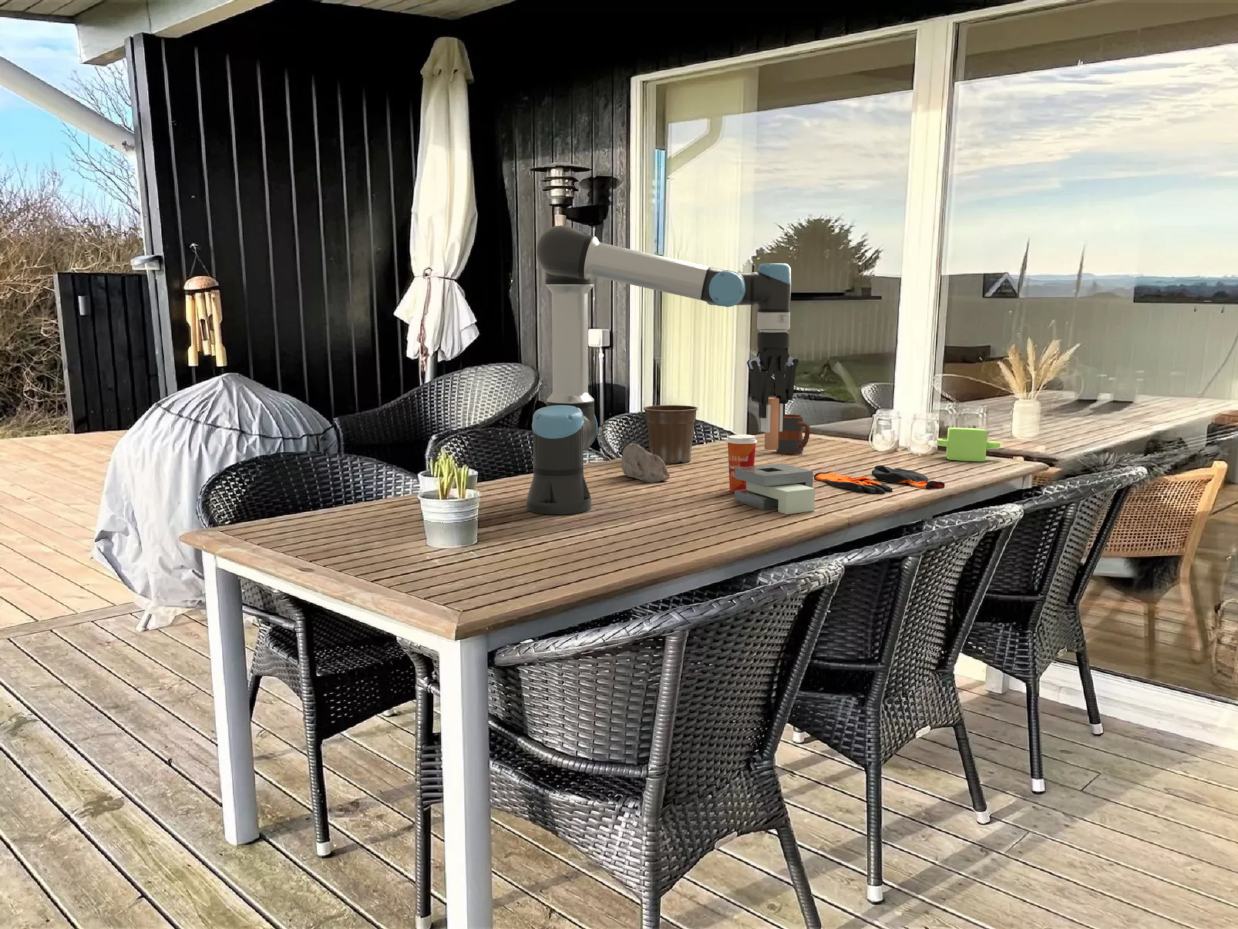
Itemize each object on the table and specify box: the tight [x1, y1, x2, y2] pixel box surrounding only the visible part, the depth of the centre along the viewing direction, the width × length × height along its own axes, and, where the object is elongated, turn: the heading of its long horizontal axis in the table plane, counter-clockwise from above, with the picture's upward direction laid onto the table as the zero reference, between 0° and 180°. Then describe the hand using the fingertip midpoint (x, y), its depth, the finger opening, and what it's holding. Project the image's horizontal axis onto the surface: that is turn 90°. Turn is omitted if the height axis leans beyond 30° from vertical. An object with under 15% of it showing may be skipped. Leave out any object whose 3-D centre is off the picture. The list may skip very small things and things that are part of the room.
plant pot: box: [643, 404, 699, 465], centre depth 294 cm, size 16×16×16 cm
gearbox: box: [936, 427, 1001, 462], centre depth 297 cm, size 18×10×10 cm, turn 76°
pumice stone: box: [621, 442, 671, 483], centre depth 266 cm, size 15×8×10 cm, turn 38°
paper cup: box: [725, 434, 758, 494], centre depth 249 cm, size 8×8×14 cm
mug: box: [775, 413, 811, 456], centre depth 308 cm, size 9×12×12 cm
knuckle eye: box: [746, 482, 816, 515], centre depth 232 cm, size 8×16×5 cm, turn 27°
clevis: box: [733, 463, 814, 511], centre depth 236 cm, size 14×12×8 cm
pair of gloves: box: [813, 464, 945, 495], centre depth 260 cm, size 27×24×3 cm
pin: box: [764, 397, 779, 451], centre depth 233 cm, size 3×3×12 cm
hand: (771, 431), depth 233 cm, fingers closed on pin, 3 cm apart
